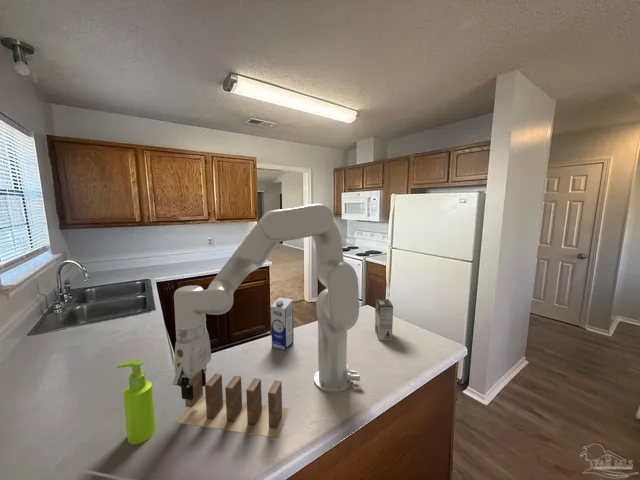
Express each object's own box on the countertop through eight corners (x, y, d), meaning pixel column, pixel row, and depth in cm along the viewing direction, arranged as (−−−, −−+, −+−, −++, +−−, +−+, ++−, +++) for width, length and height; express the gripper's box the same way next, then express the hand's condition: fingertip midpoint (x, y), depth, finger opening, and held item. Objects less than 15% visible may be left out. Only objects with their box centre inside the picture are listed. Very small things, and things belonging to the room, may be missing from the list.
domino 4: (261, 411, 74) (261, 378, 73) (254, 425, 70) (253, 390, 68) (255, 410, 75) (254, 378, 74) (247, 424, 70) (246, 389, 69)
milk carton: (294, 343, 114) (293, 298, 112) (285, 351, 108) (284, 304, 106) (280, 340, 117) (279, 296, 115) (271, 347, 111) (270, 301, 109)
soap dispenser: (132, 427, 70) (126, 356, 68) (159, 425, 70) (154, 355, 68) (117, 446, 64) (110, 369, 62) (147, 444, 64) (141, 368, 62)
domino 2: (223, 406, 77) (221, 374, 75) (213, 419, 72) (211, 385, 71) (216, 405, 77) (215, 373, 76) (206, 418, 72) (204, 384, 71)
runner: (289, 409, 76) (289, 408, 76) (278, 439, 66) (278, 437, 66) (199, 397, 81) (199, 396, 81) (176, 423, 71) (176, 422, 71)
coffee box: (374, 331, 125) (375, 298, 123) (387, 331, 125) (388, 298, 123) (378, 340, 116) (379, 305, 114) (392, 340, 116) (393, 305, 114)
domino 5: (282, 414, 73) (281, 381, 72) (276, 428, 69) (275, 393, 67) (275, 413, 74) (274, 380, 73) (268, 427, 69) (267, 392, 68)
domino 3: (242, 409, 76) (241, 376, 74) (233, 422, 71) (232, 388, 70) (235, 408, 76) (234, 375, 75) (226, 421, 71) (225, 387, 70)
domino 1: (203, 395, 77) (201, 363, 76) (192, 407, 72) (190, 373, 71) (197, 394, 78) (195, 362, 77) (185, 406, 73) (183, 372, 72)
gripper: (182, 347, 64) (186, 416, 66) (220, 319, 80) (222, 375, 82) (155, 344, 65) (159, 412, 67) (198, 317, 82) (200, 372, 84)
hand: (194, 391), depth 75 cm, fingers closed on domino 1, 4 cm apart
